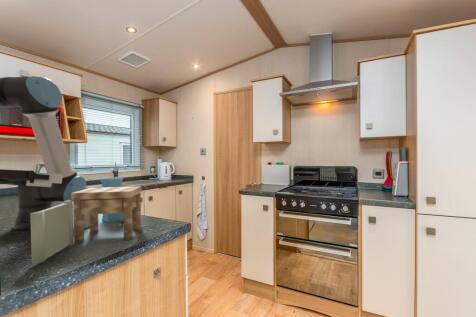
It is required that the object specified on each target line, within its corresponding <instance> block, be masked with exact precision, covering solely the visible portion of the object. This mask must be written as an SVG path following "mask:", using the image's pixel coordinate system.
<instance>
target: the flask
mask: <svg viewBox="0 0 476 317" xmlns="http://www.w3.org/2000/svg"><path fill="white" fill-rule="evenodd" d="M88 228H90V214H84V230H85V229H88Z"/></svg>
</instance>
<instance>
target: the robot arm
mask: <svg viewBox="0 0 476 317" xmlns="http://www.w3.org/2000/svg"><path fill="white" fill-rule="evenodd" d="M62 100H63V95H62V92H61V90H60V88H59V86H58V85H57V84H56V83H55V82H53V81H52V79H49V78H48V77H45V76H34V75H31V76H3V77H0V109H10V108H11V109H12V108H13V109H17V108H18V109H20V113H21V114H22V115H24V116H25V117H27V118H28V119H29V123H30V125H31V129H32V132H33V135H34V137H35V140H36V143H37V147H38V150H39V152H40V155H41V158H42V161H43V164H44V167H45V170H46V172H38V171H36V172H35V171H34V170H23V169H22V170H21V169H20V170H19V169H5V168H4V169H3V168H2V169H1V168H0V185H9V186H17V198H18V199H17V200H18V202H17V203H18V210H17V214H16V215H15V218H14V220H13V229H14V230H19V231H21V230H31V218H30V214H31V213H34V212H39V211H42V210H45V209H48V208H51V207H53V202H54V203H55V202H56V203H57V202H58V203H60V202H61V203H62V202H63V203H64V201H70V200H71V193H73V192H77V191H81V190H85V189H87V182H86V179H85V177H84V176H82V175H80V174H79V175H78V172H77V170H76V169H75V168H73V167H72V166H71V163H70V161H69V157H68V153H67V150H66V146H65V143H64V140H63V137H62V131H61V130H60V127H59V122H58V120H57V117H56V114H58V112H59V108H58V107H59V106H61V104H62ZM71 201H72V202H73V200H71Z"/></svg>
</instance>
